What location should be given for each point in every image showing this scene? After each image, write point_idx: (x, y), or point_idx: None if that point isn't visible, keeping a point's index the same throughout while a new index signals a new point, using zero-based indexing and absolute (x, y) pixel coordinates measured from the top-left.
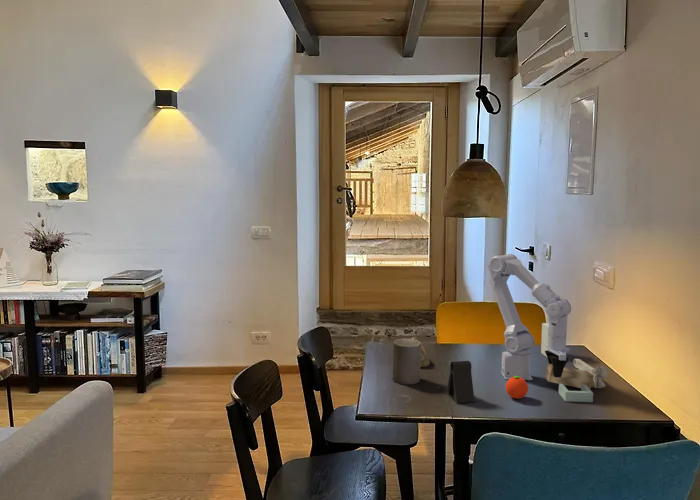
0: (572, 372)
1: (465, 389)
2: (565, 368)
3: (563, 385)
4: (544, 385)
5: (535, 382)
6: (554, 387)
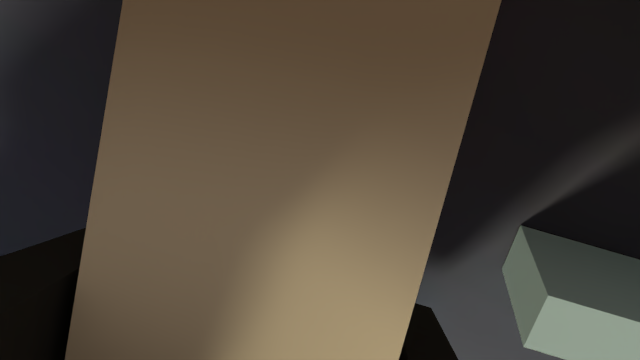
0: (477, 79)
1: None
2: (259, 183)
3: (618, 325)
4: None
5: None
6: None
